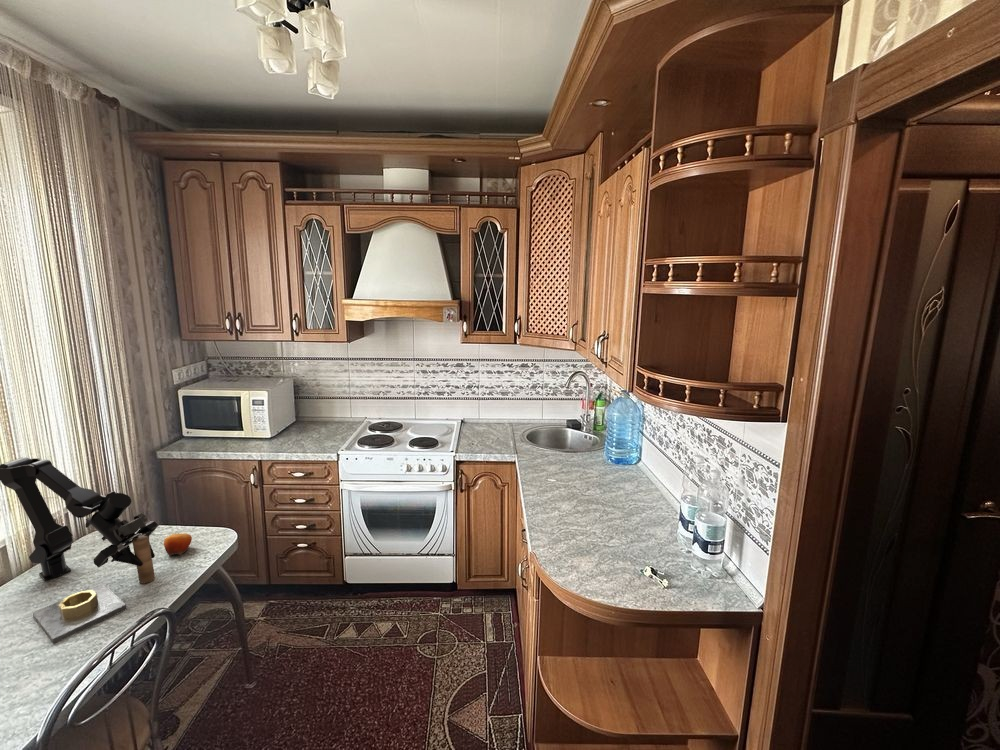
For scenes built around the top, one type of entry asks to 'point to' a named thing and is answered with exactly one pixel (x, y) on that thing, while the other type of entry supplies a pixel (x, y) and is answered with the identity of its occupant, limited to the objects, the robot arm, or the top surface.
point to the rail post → (144, 559)
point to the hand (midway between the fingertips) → (148, 561)
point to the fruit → (177, 543)
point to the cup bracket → (78, 612)
